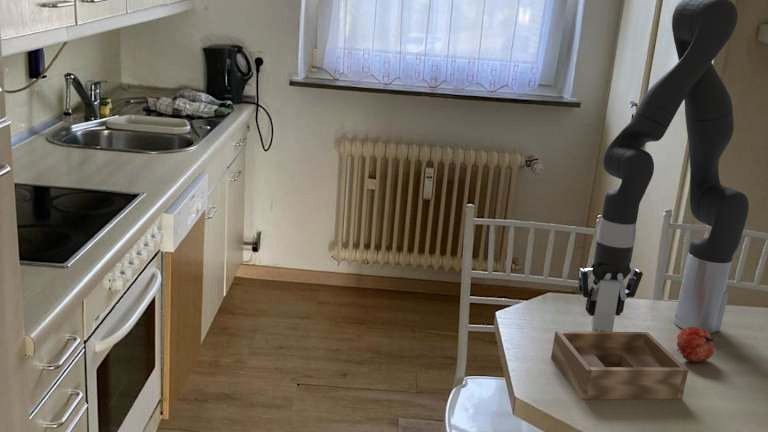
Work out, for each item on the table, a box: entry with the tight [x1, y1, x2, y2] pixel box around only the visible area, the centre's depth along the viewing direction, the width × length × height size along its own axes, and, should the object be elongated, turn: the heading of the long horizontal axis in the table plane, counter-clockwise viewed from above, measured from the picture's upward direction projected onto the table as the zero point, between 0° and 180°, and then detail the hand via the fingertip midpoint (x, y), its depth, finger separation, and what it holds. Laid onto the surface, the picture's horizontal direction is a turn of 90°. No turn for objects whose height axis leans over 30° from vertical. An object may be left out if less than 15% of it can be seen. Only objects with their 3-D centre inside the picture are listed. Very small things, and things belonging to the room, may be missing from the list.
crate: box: [550, 330, 689, 400], centre depth 151 cm, size 20×16×6 cm
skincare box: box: [590, 280, 620, 332], centre depth 166 cm, size 6×4×12 cm
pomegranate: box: [676, 326, 716, 363], centre depth 162 cm, size 7×7×10 cm
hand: (603, 314), depth 167 cm, fingers closed on skincare box, 5 cm apart
